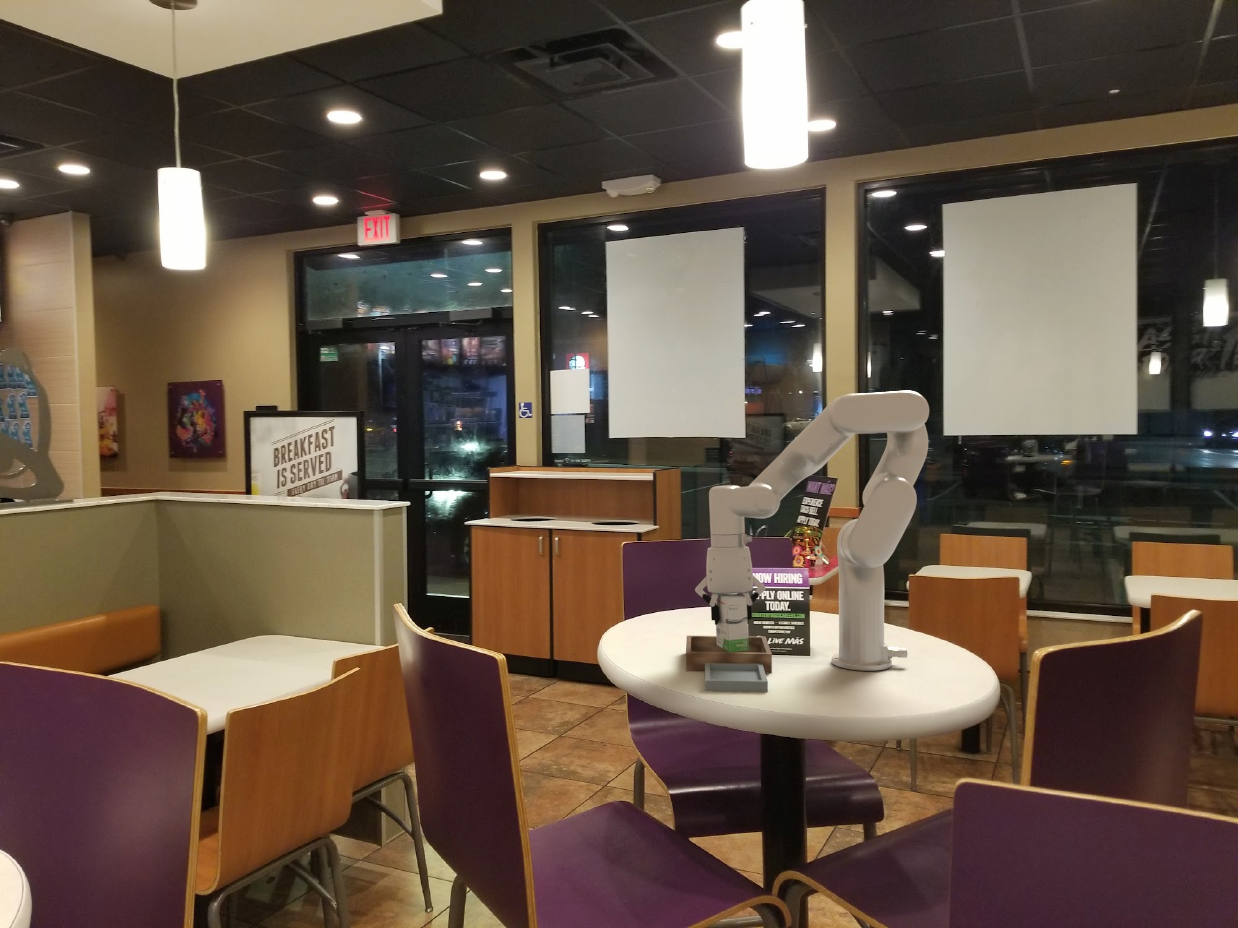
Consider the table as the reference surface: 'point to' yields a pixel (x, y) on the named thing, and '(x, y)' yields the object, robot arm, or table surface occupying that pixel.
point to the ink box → (732, 623)
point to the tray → (735, 677)
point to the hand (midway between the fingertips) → (731, 622)
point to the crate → (725, 653)
